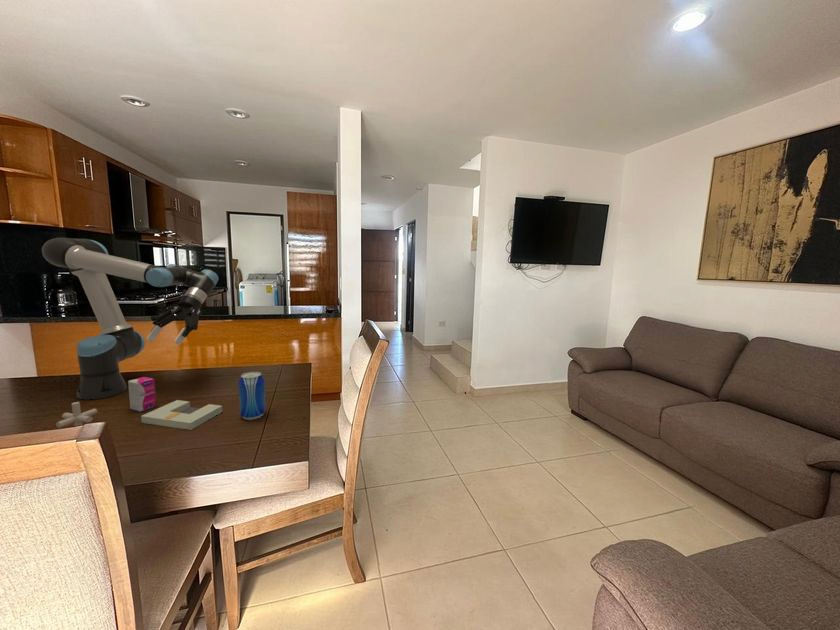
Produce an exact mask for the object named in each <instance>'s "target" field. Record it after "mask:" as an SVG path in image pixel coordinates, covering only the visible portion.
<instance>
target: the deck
mask: <svg viewBox="0 0 840 630" xmlns="http://www.w3.org/2000/svg"><path fill="white" fill-rule="evenodd" d="M221 412H222V413H223V405H220V404H210V403H208V404H207V405H204V406H203V407H201V408H200V407H192V406H191V402H190V401H187V400H182V399H181V400H180V399H176V400H174V401H172V402H169V403H167V404H165V405H162V406H160V407H158V408H156V409H154V410H152V411H149V412H146V413H145V414H142V415H141V416H140V419H141V423H142V424H147V425H154V426H160V427H161V426H162V427H167V428H174V429H183V430H189V431H192V430H193V429H195V428H198V427H199V426H200V425H201V426H202V424H204V423H206V422H208V421H209V419H210V420H211V419H213V418H215V417H217V416H218V415H220V414H222V413H221ZM216 415H217V416H216Z"/></svg>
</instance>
